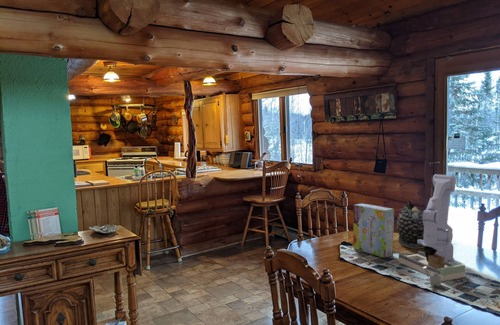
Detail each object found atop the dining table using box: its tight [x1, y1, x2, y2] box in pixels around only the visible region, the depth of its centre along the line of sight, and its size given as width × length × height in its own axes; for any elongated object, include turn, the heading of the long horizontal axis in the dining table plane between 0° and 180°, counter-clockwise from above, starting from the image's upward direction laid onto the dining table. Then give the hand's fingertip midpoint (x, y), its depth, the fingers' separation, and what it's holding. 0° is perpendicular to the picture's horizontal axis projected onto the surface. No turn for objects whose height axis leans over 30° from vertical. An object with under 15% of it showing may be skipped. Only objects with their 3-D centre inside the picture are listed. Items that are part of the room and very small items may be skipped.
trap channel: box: [397, 250, 466, 282], centre depth 193 cm, size 14×28×6 cm, turn 20°
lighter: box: [423, 266, 442, 287], centre depth 174 cm, size 7×2×8 cm, turn 78°
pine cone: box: [396, 200, 424, 249], centre depth 232 cm, size 21×15×25 cm
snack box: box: [352, 203, 395, 259], centre depth 219 cm, size 22×9×26 cm, turn 34°
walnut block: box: [428, 254, 445, 269], centre depth 190 cm, size 5×5×5 cm
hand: (429, 261), depth 194 cm, fingers closed
